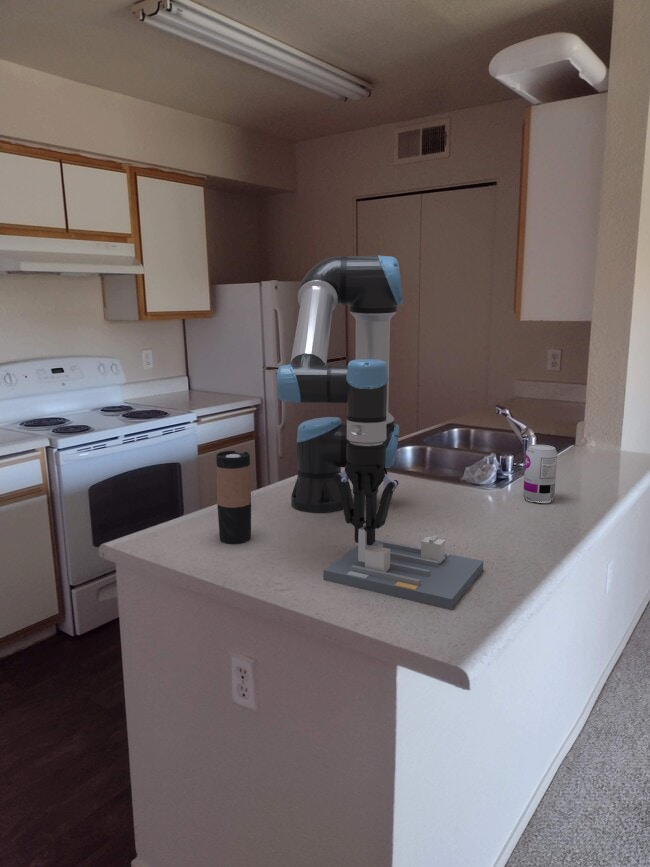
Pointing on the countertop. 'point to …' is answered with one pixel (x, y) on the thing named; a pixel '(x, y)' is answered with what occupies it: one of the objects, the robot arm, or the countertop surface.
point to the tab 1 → (377, 558)
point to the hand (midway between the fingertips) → (364, 559)
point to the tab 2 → (433, 548)
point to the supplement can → (540, 473)
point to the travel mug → (234, 496)
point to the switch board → (409, 575)
